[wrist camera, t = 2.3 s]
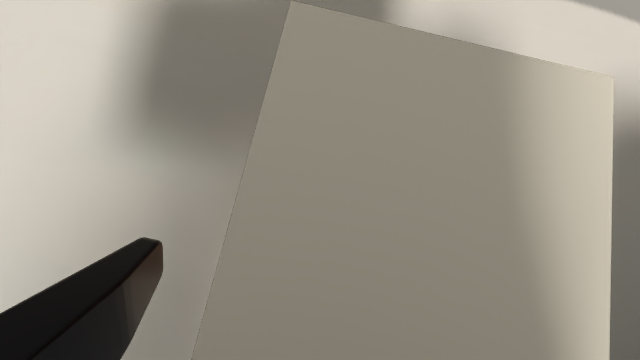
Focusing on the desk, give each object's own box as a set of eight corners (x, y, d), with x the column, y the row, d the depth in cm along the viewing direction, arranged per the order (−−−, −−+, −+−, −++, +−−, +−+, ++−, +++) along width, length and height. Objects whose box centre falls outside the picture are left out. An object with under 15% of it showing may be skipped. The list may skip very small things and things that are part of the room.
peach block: (372, 314, 17) (608, 449, 4) (266, 290, 17) (191, 359, 4) (390, 209, 18) (613, 76, 6) (292, 187, 18) (291, 0, 5)
